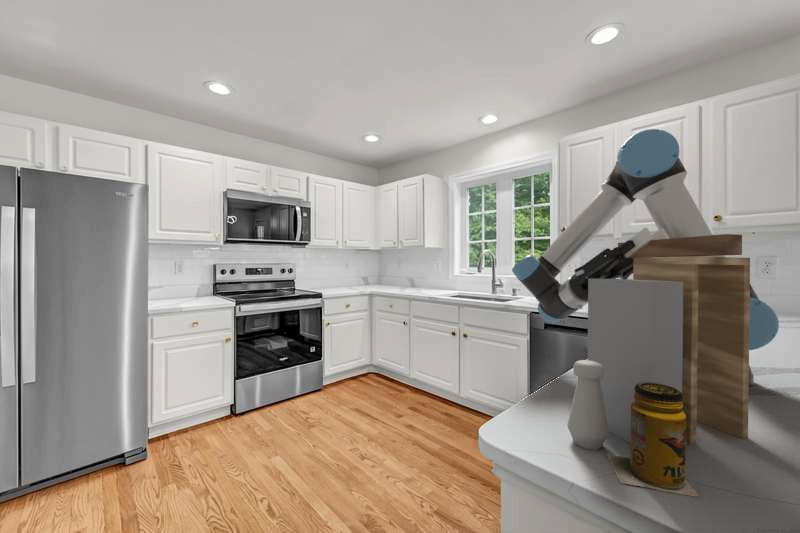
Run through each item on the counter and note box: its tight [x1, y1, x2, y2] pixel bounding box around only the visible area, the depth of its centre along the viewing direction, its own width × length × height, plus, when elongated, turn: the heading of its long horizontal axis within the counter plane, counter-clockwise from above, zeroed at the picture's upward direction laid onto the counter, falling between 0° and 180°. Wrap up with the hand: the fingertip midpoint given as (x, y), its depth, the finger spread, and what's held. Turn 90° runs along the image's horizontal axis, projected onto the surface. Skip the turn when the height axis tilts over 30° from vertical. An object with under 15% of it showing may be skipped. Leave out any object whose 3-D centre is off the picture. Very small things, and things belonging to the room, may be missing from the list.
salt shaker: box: [567, 359, 610, 451], centre depth 57 cm, size 6×6×13 cm
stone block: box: [586, 278, 683, 444], centre depth 61 cm, size 6×13×26 cm, turn 12°
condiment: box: [606, 383, 700, 497], centre depth 48 cm, size 7×8×12 cm
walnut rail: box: [617, 233, 743, 258], centre depth 67 cm, size 3×21×3 cm, turn 12°
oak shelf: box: [632, 256, 751, 446], centre depth 63 cm, size 12×11×30 cm
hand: (657, 234), depth 69 cm, fingers closed on walnut rail, 3 cm apart
